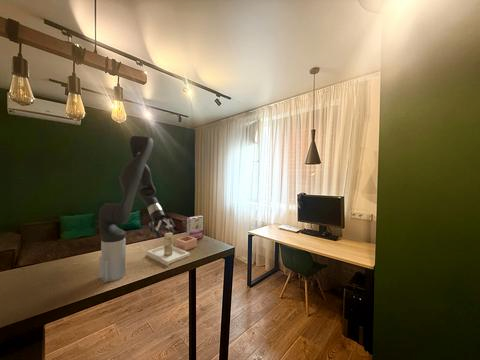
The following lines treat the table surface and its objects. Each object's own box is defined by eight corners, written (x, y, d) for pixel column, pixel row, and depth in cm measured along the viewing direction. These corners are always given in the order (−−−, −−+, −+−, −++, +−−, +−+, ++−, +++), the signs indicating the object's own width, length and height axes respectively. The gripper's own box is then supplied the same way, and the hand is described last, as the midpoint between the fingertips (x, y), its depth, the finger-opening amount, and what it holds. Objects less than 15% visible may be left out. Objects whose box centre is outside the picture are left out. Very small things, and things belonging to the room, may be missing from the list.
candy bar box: (199, 237, 145) (200, 215, 144) (203, 238, 141) (204, 216, 141) (186, 240, 137) (186, 217, 137) (189, 242, 134) (190, 218, 133)
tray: (167, 266, 99) (167, 261, 99) (147, 255, 111) (147, 250, 111) (189, 257, 111) (189, 252, 110) (168, 248, 122) (169, 244, 122)
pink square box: (184, 252, 117) (185, 242, 117) (175, 248, 122) (175, 238, 122) (196, 247, 124) (197, 238, 124) (187, 244, 130) (187, 235, 130)
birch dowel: (167, 256, 108) (167, 235, 107) (162, 254, 110) (162, 233, 110) (173, 254, 111) (174, 233, 111) (169, 252, 114) (169, 231, 114)
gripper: (147, 210, 110) (158, 235, 104) (169, 207, 122) (180, 229, 115) (142, 218, 114) (152, 242, 107) (164, 214, 125) (174, 236, 119)
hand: (167, 235), depth 111 cm, fingers open, 8 cm apart
